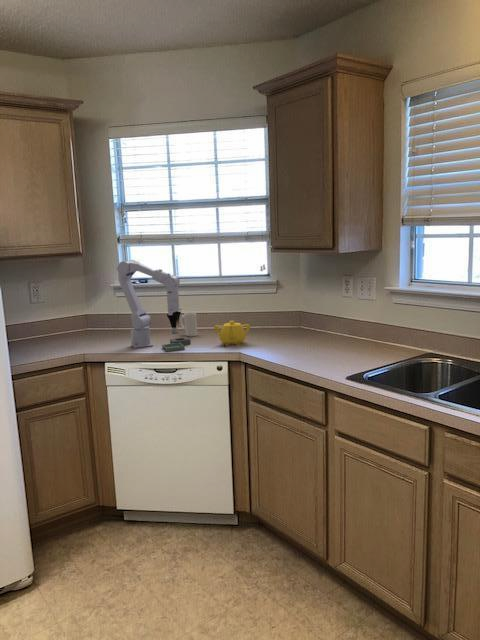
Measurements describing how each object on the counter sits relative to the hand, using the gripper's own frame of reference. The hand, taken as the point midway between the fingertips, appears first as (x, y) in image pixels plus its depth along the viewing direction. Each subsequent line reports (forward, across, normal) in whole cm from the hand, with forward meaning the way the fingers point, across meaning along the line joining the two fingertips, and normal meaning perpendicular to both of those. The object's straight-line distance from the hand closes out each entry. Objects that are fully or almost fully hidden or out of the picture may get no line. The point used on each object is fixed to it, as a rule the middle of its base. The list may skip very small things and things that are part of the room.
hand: (174, 327), depth 271 cm
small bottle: (+3, 0, 0) cm, 3 cm away
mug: (+10, +28, 0) cm, 30 cm away
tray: (+10, -4, 0) cm, 11 cm away
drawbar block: (+10, +6, -1) cm, 12 cm away
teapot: (+10, +3, -28) cm, 30 cm away
